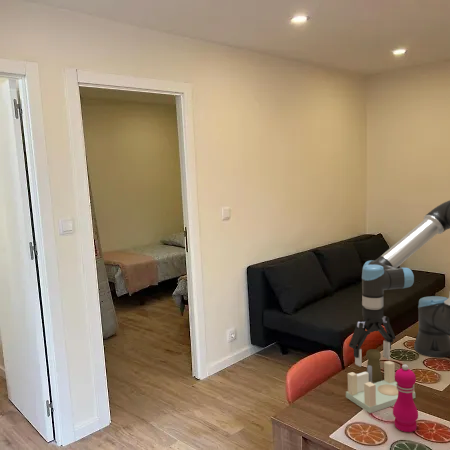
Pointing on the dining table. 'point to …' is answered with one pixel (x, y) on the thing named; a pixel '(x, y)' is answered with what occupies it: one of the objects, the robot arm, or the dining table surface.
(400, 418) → the pepper mill
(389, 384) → the stand
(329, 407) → the dining table surface
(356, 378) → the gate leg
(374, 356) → the pepper shaker
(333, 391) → the dining table surface
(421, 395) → the dining table surface
